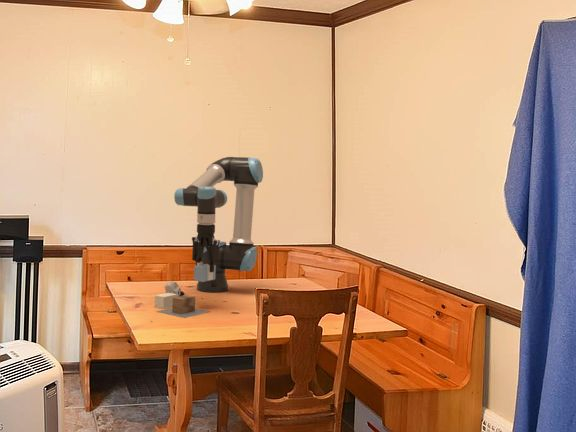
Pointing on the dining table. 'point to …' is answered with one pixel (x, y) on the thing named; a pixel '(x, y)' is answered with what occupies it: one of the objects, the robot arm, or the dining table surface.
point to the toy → (173, 288)
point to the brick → (164, 300)
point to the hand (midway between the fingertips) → (204, 278)
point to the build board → (185, 315)
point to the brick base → (183, 304)
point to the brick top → (202, 273)
